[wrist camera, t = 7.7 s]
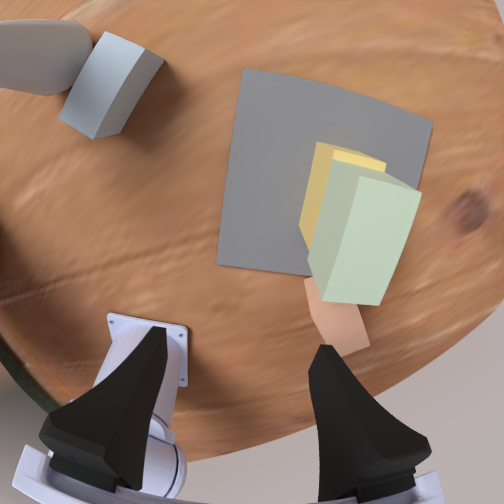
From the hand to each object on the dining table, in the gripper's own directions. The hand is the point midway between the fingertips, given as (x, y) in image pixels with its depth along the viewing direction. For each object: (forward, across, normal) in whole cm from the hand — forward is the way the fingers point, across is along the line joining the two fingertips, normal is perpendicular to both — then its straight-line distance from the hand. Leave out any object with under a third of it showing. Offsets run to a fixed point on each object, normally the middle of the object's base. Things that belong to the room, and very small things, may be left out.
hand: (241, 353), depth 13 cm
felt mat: (+10, -5, -6) cm, 13 cm away
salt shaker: (+10, +15, -14) cm, 23 cm away
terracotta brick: (+10, -8, +3) cm, 13 cm away
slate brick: (+10, +10, -11) cm, 18 cm away
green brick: (+5, -5, -6) cm, 9 cm away
